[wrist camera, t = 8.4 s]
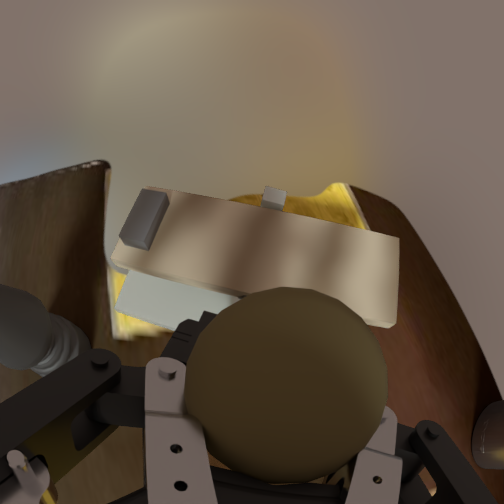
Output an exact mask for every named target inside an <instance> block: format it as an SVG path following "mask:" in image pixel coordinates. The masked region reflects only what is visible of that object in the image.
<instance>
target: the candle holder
mask: <svg viewBox="0 0 504 504" xmlns="http://www.w3.org/2000/svg"><path fill="white" fill-rule="evenodd" d="M90 349H92V348H91V345H90V342H89V339H88V337H87V336H86V334H85V333H84V332H83V331H82V329H80V328H79V327H77V326H76V325H74V324H73V323H72V322H70V321H69V320H67V319H65V318H63V317H62V316H60V315H54V314H53V313H48V311H47V310H46V308H45V307H44V305H43V304H42V302H41V301H40V300H39V299H38V298H36V297H35V296H33V295H31V294H30V293H28V292H27V291H23V290H20V289H16V288H12V287H9V286H6V285H2V284H0V362H1V363H2V364H3V365H4V366H6V367H8V368H12V369H18V370H25V369H28V368H30V369H31V370H33V371H34V372H36V373H37V374H39V375H40V376H42V377H44V376H46V375H47V374H49V373H51V372H52V371H54V370H56V369H57V368H59V367H60V366H62V365H64V364H65V363H67V362H69V361H70V360H72V359H74V358H75V357H77V356H78V355H80V354H82V353H83V352H85V351H87V350H90Z"/></svg>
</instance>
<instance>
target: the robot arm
mask: <svg viewBox="0 0 504 504" xmlns="http://www.w3.org/2000/svg"><path fill="white" fill-rule="evenodd" d="M217 315H218V314H215V313H211V312H208V311H203V313H202V315H201V317H200V320H199V321H195V320H192V319H186V320H184V321H183V322H181V323H179V325H178V327H177V328H176V330H175V332H174V333H173V335H172V338H171V339H170V340H169V342H168V344H167V345H166V347H165V349H164V351H163V352H162V354H161V356H160V357H159V358H155V359H153V360H151V361H149V362H148V364H147V365H146V367H131V366H123V365H121V361H120V359H119V357H118V356H117V355H116V354H114V353H113V352H111V351H108V350H105V349H90V350H87V351H85V352H83V353H82V354H80V355H78V356H77V357H75V358H74V359H72V360H70V361H69V362H67V363H65V364H64V365H62V366H60V367H59V368H57V369H56V370H54V371H52V372H51V373H49V374H47V375H46V376H44V377H43V378H41V379H39V380H38V381H36V382H34V383H33V384H31V385H30V386H28V387H26V388H25V389H23V390H21V391H20V392H18V393H17V394H15V395H13V396H12V397H10V398H8V399H7V400H5V401H4V402H2V403H0V504H56V503H57V500H58V493H57V489H56V487H55V485H54V484H55V483H56V482H58V481H59V480H60V479H61V478H62V477H63V476H64V475H66V474H67V473H68V472H69V471H70V470H71V469H72V468H74V467H75V466H76V465H77V464H78V463H79V462H80V461H81V460H83V459H84V458H85V457H86V456H87V455H88V454H89V453H90V452H92V451H93V450H94V449H95V448H96V447H97V446H98V445H99V444H100V443H101V442H103V441H104V440H105V439H106V438H107V437H108V436H109V435H110V434H111V433H112V432H114V431H115V430H116V429H117V428H118V427H119V426H129V427H139V428H142V437H143V486H144V487H143V488H141V489H139V490H137V491H135V492H132V493H130V494H128V495H126V496H124V497H122V498H119V499H117V500H115V501H113V502H110V503H108V504H498V503H497V501H496V500H495V499H494V497H493V496H492V494H491V493H490V491H489V490H488V489H487V487H486V486H485V484H484V483H483V482H482V480H481V479H480V477H479V476H478V475H477V473H476V472H475V471H474V469H473V468H472V466H471V465H470V464H469V462H468V461H467V460H466V458H465V457H464V455H463V454H462V453H461V451H460V450H459V449H458V447H457V446H456V445H455V443H454V442H453V441H452V439H451V438H450V437H449V435H448V434H447V433H446V431H445V430H444V429H443V428H442V427H441V426H440V425H439V424H437V423H435V422H433V421H429V420H423V421H420V422H419V423H418V424H417V426H416V427H415V428H411V427H408V426H405V425H402V424H399V423H397V417H396V415H395V413H394V412H393V411H392V410H391V409H390V408H388V407H387V406H385V409H384V412H383V416H382V419H381V422H380V425H379V427H378V429H377V430H376V432H375V433H374V435H373V436H372V438H371V439H370V441H369V442H368V444H367V445H366V446H365V447H364V448H363V449H362V450H361V451H359V452H358V453H357V454H356V456H355V457H354V458H353V459H352V460H351V461H350V462H349V463H347V464H346V465H345V466H343V467H342V468H341V469H340V470H338V471H336V472H334V473H331V474H329V475H326V476H324V479H323V482H322V484H317V483H299V484H288V485H271V484H268V483H265V482H263V481H260V480H257V479H255V478H252V477H250V476H247V475H245V474H242V473H240V472H237V471H232V470H227V469H223V468H219V467H214V466H210V465H209V460H208V455H207V450H206V445H205V439H204V434H203V428H202V423H201V422H200V421H199V419H198V418H197V417H195V416H194V415H192V414H188V411H187V407H186V403H185V399H184V385H185V374H186V364H187V361H188V359H189V356H190V354H191V352H192V350H193V348H194V345H195V343H196V341H197V339H198V336H199V334H200V333H201V332H202V331H203V330H204V329H205V328H206V326H207V325H208V324H209V323H210V322H211V321H212V320H213V319H214V318H215V317H216V316H217ZM472 453H473V457H474V460H475V462H476V463H477V464H478V466H480V467H482V468H486V469H504V400H502V401H496V402H493V403H491V404H490V405H488V406H487V407H486V408H485V409H484V410H483V412H482V413H481V415H480V416H479V418H478V420H477V422H476V425H475V428H474V432H473V436H472ZM424 467H426V468H427V470H428V472H429V473H430V475H431V476H432V478H433V479H434V481H435V483H436V486H437V490H436V493H435V495H434V496H433V497H432V496H431V494H430V493H429V491H428V489H427V488H426V486H425V484H424V483H423V481H422V479H421V478H420V476H419V475H418V474H419V473H420V472H421V471H422V469H423V468H424Z"/></svg>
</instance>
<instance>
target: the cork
mask: <svg viewBox="0 0 504 504" xmlns="http://www.w3.org/2000/svg"><path fill="white" fill-rule="evenodd" d="M387 398H388V380H387V366H386V363H385V360H384V357H383V354H382V351H381V348H380V345H379V342H378V340H377V338H376V337H375V336H374V334H373V333H372V331H371V330H370V328H369V327H368V326H367V324H366V323H365V321H364V320H363V319H362V317H360V316H359V315H358V314H357V313H355V312H354V311H353V310H352V309H350V308H349V307H348V306H346V305H345V304H344V303H343V302H341V301H340V300H339V299H336V298H334V297H331V296H328V295H326V294H323V293H321V292H318V291H316V290H313V289H306V288H294V287H277V288H273V289H268V290H264V291H259V292H254V293H251V294H250V295H248V296H246V297H244V298H243V299H241V300H239V301H237V302H235V303H234V304H232V305H230V306H228V307H227V308H225V309H223V310H221V311H220V312H219V313H218V315H217V316H216V317H215V318H214V319H213V320H212V321H211V322H210V323H209V324H208V325H207V326H206V328H205V329H204V330H203V331H202V332H201V333H200V334H199V336H198V339H197V341H196V343H195V345H194V348H193V350H192V352H191V354H190V356H189V359H188V361H187V364H186V374H185V385H184V399H185V403H186V407H187V411H188V414H192V415H194V416H195V417H197V418H198V419H199V421H200V422H201V423H202V428H203V434H204V439H205V445H206V449H207V450H208V452H209V453H210V454H211V455H212V456H213V457H215V458H216V459H217V460H219V461H220V462H221V463H223V464H224V465H226V466H227V467H228V468H230V469H231V470H232V471H237V472H240V473H242V474H245V475H247V476H250V477H252V478H255V479H257V480H260V481H263V482H265V483H270V484H282V483H306V482H310V481H312V480H315V479H318V478H321V477H323V476H326V475H329V474H331V473H334V472H336V471H338V470H340V469H341V468H342V467H343V466H345V465H346V464H347V463H349V462H350V461H351V460H352V459H353V458H354V457H355V456H356V454H357V453H358V452H359V451H361V450H362V449H363V448H364V447H365V446H366V445H367V444H368V442H369V441H370V439H371V438H372V436H373V435H374V433H375V432H376V430H377V429H378V427H379V425H380V422H381V419H382V416H383V412H384V409H385V405H386V402H387Z"/></svg>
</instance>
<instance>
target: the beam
mask: <svg viewBox="0 0 504 504" xmlns="http://www.w3.org/2000/svg"><path fill="white" fill-rule="evenodd" d="M119 237H120V238H119V241H118V243H117V245H116V247H115V249H114V251H113V254H112V256H111V260H112V261H113V262H114V264H115V265H116V266H118V267H122V268H125V269H129V270H132V271H136V272H140V273H144V274H147V275H151V276H155V277H159V278H162V279H166V280H170V281H174V282H178V283H182V284H186V285H190V286H194V287H198V288H202V289H206V290H210V291H214V292H218V293H222V294H227V295H231V296H235V297H238V299H243V298H244V297H246V296H248V295H250V294H251V293H254V292H259V291H264V290H268V289H273V288H277V287H294V288H306V289H313V290H316V291H318V292H321V293H323V294H326V295H328V296H331V297H334V298H336V299H339V300H340V301H341V302H343V303H344V304H345V305H346V306H348V307H349V308H350V309H352V310H353V311H354V312H355V313H357V314H358V315H359V316H360V317H362V319H363V320H364V321H365V323H366V324H368V325H373V326H379V327H384V328H390V327H391V326H393V325H394V324H396V317H397V301H398V279H399V238H396V237H392V236H388V235H384V234H380V233H376V232H372V231H368V230H364V229H360V228H355V227H351V226H347V225H342V224H338V223H334V222H329V221H325V220H320V219H316V218H311V217H307V216H302V215H297V214H293V213H288V212H283V211H279V210H274V209H269V208H264V207H259V206H254V205H249V204H244V203H239V202H234V201H228V200H223V199H218V198H212V197H207V196H202V195H196V194H190V193H184V192H179V191H173V190H167V189H161V188H156V187H149V186H145V188H144V189H142V190H141V192H140V194H139V196H138V198H137V200H136V202H135V204H134V206H133V208H132V210H131V212H130V213H129V216H128V217H127V220H126V222H125V224H124V226H123V228H122V230H121V232H120V234H119Z"/></svg>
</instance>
